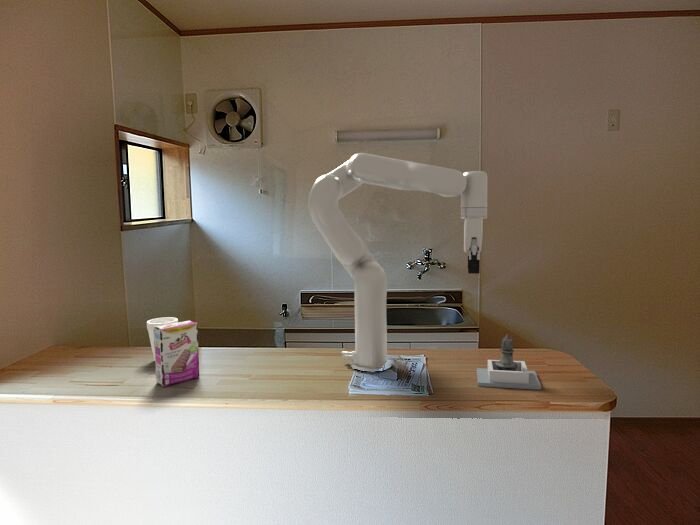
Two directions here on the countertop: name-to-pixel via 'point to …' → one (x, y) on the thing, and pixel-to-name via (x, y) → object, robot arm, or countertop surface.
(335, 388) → the countertop surface
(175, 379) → the candy bar box
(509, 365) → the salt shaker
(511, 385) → the holder
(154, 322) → the foam cup
